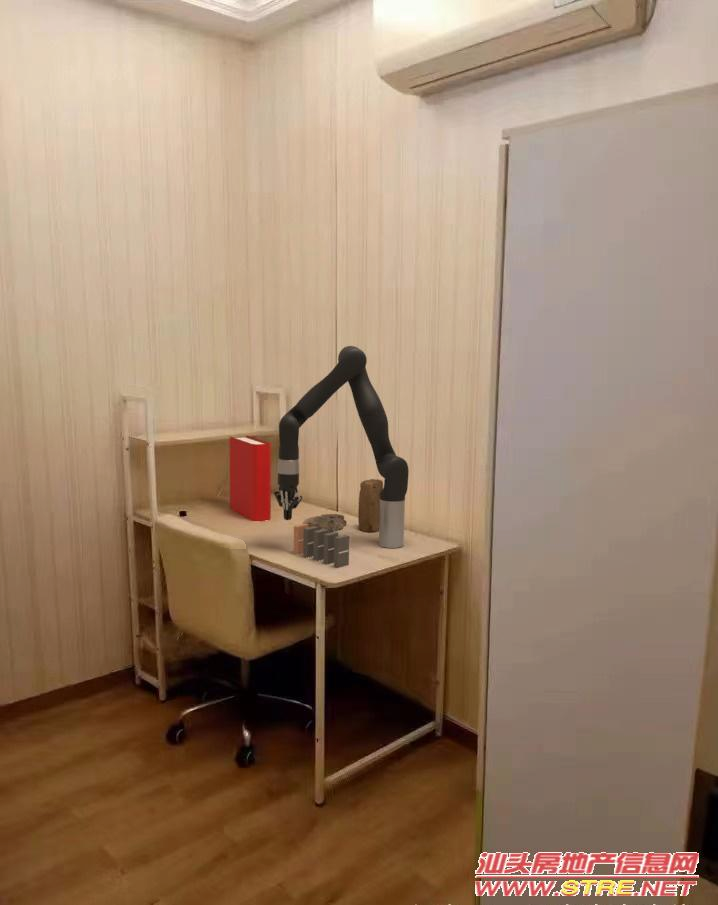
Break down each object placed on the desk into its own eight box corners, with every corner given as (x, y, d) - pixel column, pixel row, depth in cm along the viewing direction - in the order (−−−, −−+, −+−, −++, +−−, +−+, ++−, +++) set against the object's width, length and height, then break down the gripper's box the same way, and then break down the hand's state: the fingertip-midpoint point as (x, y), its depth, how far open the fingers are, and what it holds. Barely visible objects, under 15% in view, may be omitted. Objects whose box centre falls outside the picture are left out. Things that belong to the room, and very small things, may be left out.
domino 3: (313, 559, 250) (313, 531, 248) (323, 557, 253) (324, 528, 252) (317, 561, 248) (317, 532, 247) (327, 558, 252) (328, 530, 250)
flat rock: (328, 520, 306) (297, 529, 290) (329, 509, 305) (298, 516, 289) (356, 526, 298) (325, 535, 282) (356, 515, 297) (326, 523, 281)
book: (229, 508, 322) (229, 436, 317) (247, 506, 326) (246, 435, 321) (254, 522, 299) (253, 444, 294) (272, 520, 303) (272, 443, 298)
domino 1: (293, 553, 256) (293, 525, 255) (304, 550, 260) (304, 523, 258) (297, 554, 255) (297, 527, 253) (308, 552, 258) (308, 524, 257)
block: (370, 533, 285) (371, 483, 282) (356, 530, 290) (357, 480, 287) (388, 528, 293) (389, 479, 290) (374, 525, 298) (375, 477, 295)
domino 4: (323, 563, 246) (323, 534, 245) (333, 560, 250) (334, 531, 248) (327, 564, 245) (328, 535, 243) (338, 561, 248) (338, 532, 247)
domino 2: (303, 556, 253) (303, 528, 251) (313, 553, 256) (314, 526, 255) (307, 558, 251) (307, 529, 250) (318, 555, 255) (318, 527, 254)
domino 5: (333, 566, 243) (334, 537, 241) (344, 563, 246) (344, 534, 245) (338, 567, 241) (338, 538, 240) (348, 564, 245) (349, 535, 243)
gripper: (309, 473, 256) (308, 521, 259) (284, 467, 265) (283, 514, 267) (293, 475, 251) (292, 524, 253) (268, 470, 260) (267, 517, 262)
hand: (287, 519), depth 260 cm, fingers closed
